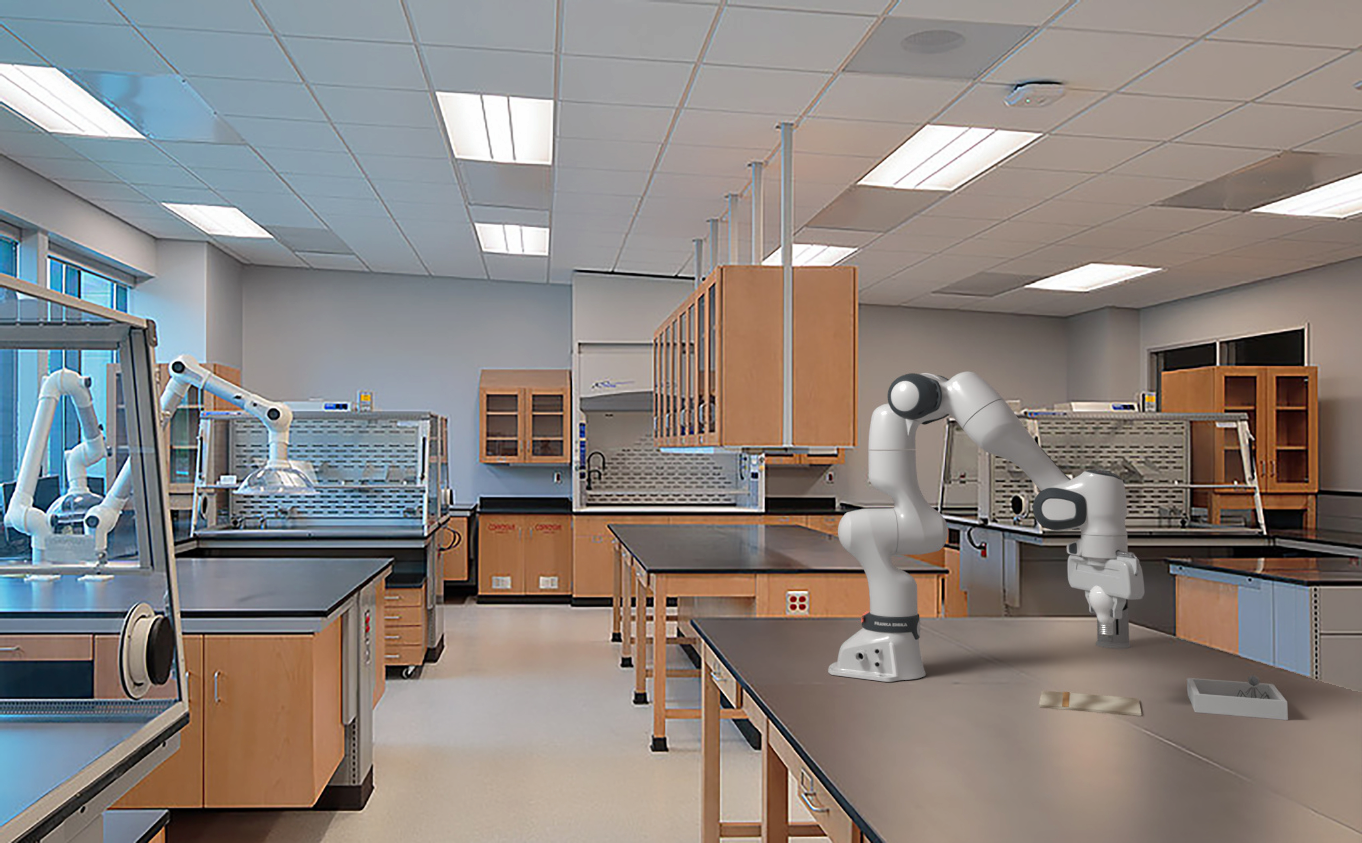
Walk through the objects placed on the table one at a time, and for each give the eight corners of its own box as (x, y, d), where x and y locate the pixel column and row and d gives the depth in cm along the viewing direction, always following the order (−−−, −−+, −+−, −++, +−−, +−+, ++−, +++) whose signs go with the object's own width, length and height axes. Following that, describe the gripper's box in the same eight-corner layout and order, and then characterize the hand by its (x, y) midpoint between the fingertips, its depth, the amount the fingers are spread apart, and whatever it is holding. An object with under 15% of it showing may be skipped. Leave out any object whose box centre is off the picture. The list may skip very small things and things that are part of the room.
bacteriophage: (1237, 711, 198) (1236, 677, 199) (1231, 701, 206) (1231, 669, 206) (1277, 714, 196) (1276, 680, 196) (1270, 704, 203) (1269, 672, 204)
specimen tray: (1194, 712, 197) (1194, 694, 197) (1187, 694, 212) (1187, 677, 212) (1287, 719, 191) (1287, 701, 191) (1273, 700, 206) (1273, 683, 206)
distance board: (1038, 706, 201) (1038, 703, 202) (1041, 692, 213) (1041, 689, 214) (1141, 715, 194) (1141, 712, 194) (1138, 700, 206) (1138, 697, 206)
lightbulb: (1122, 639, 199) (1120, 584, 200) (1088, 637, 202) (1086, 583, 203) (1124, 635, 204) (1122, 582, 205) (1091, 633, 207) (1090, 580, 208)
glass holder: (1133, 644, 268) (1132, 588, 268) (1125, 653, 256) (1123, 595, 256) (1098, 641, 272) (1097, 586, 273) (1089, 649, 260) (1088, 592, 261)
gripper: (1151, 552, 195) (1153, 623, 194) (1087, 544, 215) (1088, 607, 214) (1124, 553, 193) (1125, 624, 193) (1061, 544, 213) (1062, 608, 213)
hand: (1105, 615), depth 204 cm, fingers closed on lightbulb, 5 cm apart
